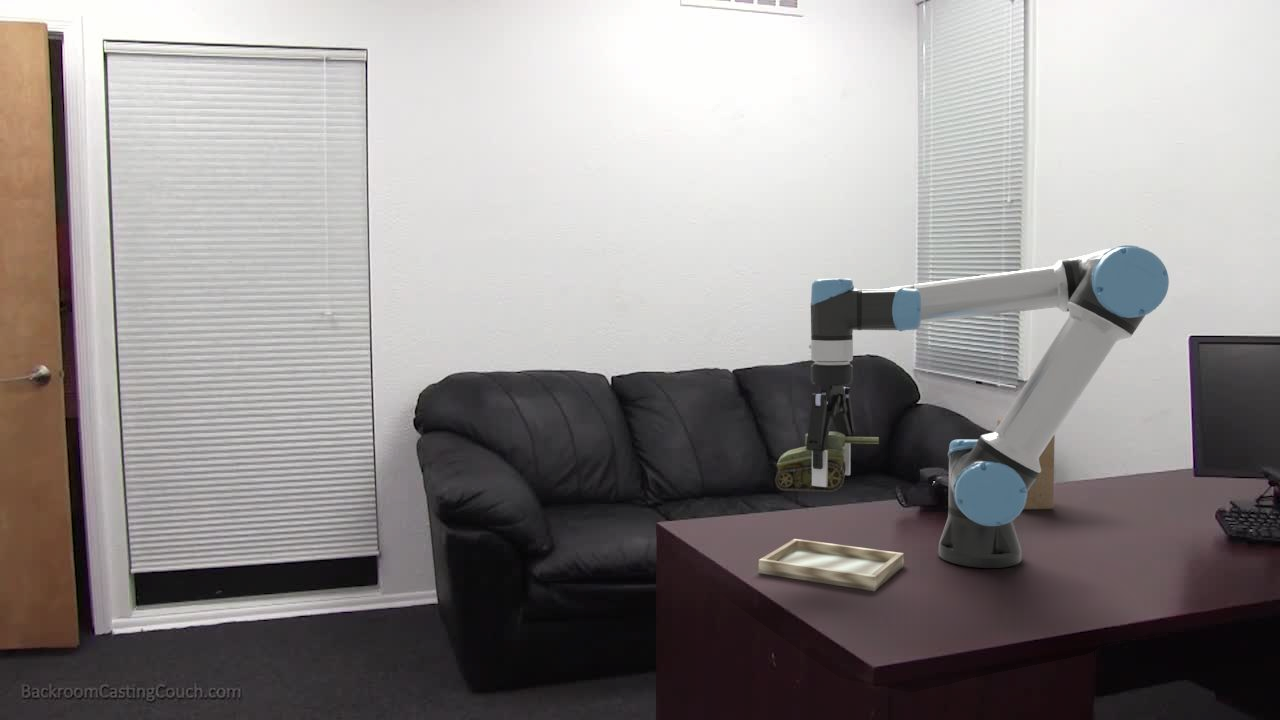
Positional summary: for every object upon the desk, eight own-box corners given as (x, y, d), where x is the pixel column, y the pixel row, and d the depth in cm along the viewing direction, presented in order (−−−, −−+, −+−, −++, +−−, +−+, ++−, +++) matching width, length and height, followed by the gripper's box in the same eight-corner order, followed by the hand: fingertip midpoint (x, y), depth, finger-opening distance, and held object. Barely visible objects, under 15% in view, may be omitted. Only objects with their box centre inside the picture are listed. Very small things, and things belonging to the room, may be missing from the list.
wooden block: (1054, 509, 229) (1055, 424, 227) (1010, 510, 229) (1011, 424, 227) (1037, 500, 239) (1038, 417, 237) (995, 500, 239) (996, 418, 237)
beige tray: (903, 566, 186) (903, 553, 186) (874, 591, 172) (874, 577, 172) (794, 551, 198) (794, 538, 197) (758, 573, 183) (758, 559, 183)
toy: (878, 493, 177) (879, 438, 176) (775, 490, 181) (774, 436, 180) (878, 482, 186) (878, 429, 186) (779, 479, 191) (779, 427, 190)
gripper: (835, 357, 194) (835, 467, 195) (787, 367, 173) (787, 490, 175) (872, 358, 190) (872, 470, 191) (827, 368, 170) (827, 494, 171)
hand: (831, 480), depth 183 cm, fingers closed on toy, 11 cm apart
